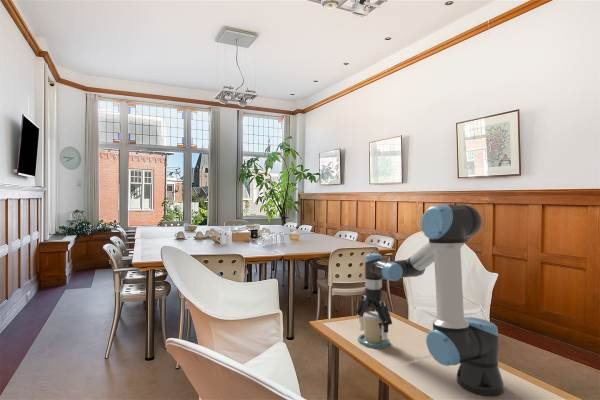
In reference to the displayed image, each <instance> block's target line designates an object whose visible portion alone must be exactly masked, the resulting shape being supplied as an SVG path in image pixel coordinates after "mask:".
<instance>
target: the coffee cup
mask: <svg viewBox="0 0 600 400" xmlns="http://www.w3.org/2000/svg"><path fill="white" fill-rule="evenodd" d="M363 319H364V330H363V331H364V332H363V334H364V335H365V341H366V342H368V343H371V344H379V343H381V342H382V325H383V323H382V321H381V319H380V317H379V315H378V313H377V311H375V310H373V311H371V310H370V311H369V310H368V311H367V312H365V313H364V314H363Z"/></svg>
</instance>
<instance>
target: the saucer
mask: <svg viewBox="0 0 600 400" xmlns="http://www.w3.org/2000/svg"><path fill="white" fill-rule="evenodd" d="M357 342H358V343H359V344H360V345H362V346H364V347H367V348H371V349H384V348H388V347H389V346H390V339H389V338H388V337H387V339H386V340H382V342H381V343H379V344H371V343H368V342H366V341H365V335H364V333H362V334H360V335H358V337H357Z"/></svg>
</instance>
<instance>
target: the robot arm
mask: <svg viewBox="0 0 600 400" xmlns="http://www.w3.org/2000/svg"><path fill="white" fill-rule="evenodd" d="M425 210H426V211H424V212H423V215H422V216H421V221H420V227H421V231H422V233H423V235H424V236H425V237H426V238H428V242H427V243H426V244H424V245H423V246H422V247H421V248H420V249H418V250H417V251H415V252H414V253H413V254H412V255H411V256H410V257H408V258H407V259H402V260H383V255H382V254H380V253H376V252H375V253H374V252H373V253H372V252H371V253H367V254H366V255H365V258H364V287H365V288H364V295H360V301H359V304H358V307H357V308H356V311H355V313H356V314H357V315H358V316H359V326H360V329H359V330H360V332H362V331H364V319H363V314H364V313H365V312H369V309H373V310H374V311H375V312H377V313H378V315H379V317H380V319H381V321H382V323H383V325H382V340H386V339H387V338H388V333H389V325H393V321H392V318H391V315H390V311H389V308H388V303H387V301H385V300H384V301H382V296H383V289H382V288H383V279H385V280H388V281H392V282H397V281H398V280H400V279H402V278H404V279H405V278H413V277H414V278H415V277H419V276H422V275H424V274H425V271H426V268H428V267H429V266H431V265H432V264H433V263H434V276H435V277H434V278H435V279H434V280H435V300H436V317H435V318H434V319H433V320H432V330H429V332H428V334H426V338H425V341H426V342H425V343H426V346H427V350H428V352H429V354H430V355H431V356H432V358H433V359H434V360H435V361H436V362H437V363H438V364H440V365H442V366H445V367H449V366H457V365H459V366H458V369H457V372H456V382H457V384H458V385H459V386H460V387H461V388H463V389H464V390H465V391H468V392H470V393H473V394H476V395H482V396H491V397H493V396H498V395H501V394H502V393H503V392H504V390H505V389H504V387H505V386H504V385H505V383H504V381H503V377H502V375H501V372H500V368H499V330H498V328H499V327H498V326H497V325H496V324H495V323H494V322H491V321H488V320H487V319H482V318H479V317H478V318H477V317H472V316H471V317H470V316H465V313H464V312H465V311H464V310H465V309H464V294H463V291H464V290H463V275H462V274H463V273H462V272H463V271H462V253H461V248H462V247H463V246H464V245H465V244H466V243H467V242H468V241H469V240H471V239H472V238H474V237H475V236H476V235H477V234H478V233H479V232H480V231H481V228H482V226H483V225H482V224H483V220H482V216H481V213H480V212H479V211H478V210H477V209H476V208H475V207H473V206H471V205H468V204H448V203H447V204H445V203H444V204H435V205H432V206H429V207H428V208H427V209H425Z"/></svg>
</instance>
